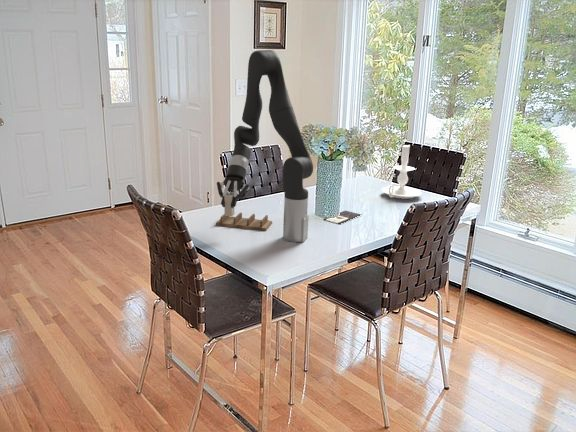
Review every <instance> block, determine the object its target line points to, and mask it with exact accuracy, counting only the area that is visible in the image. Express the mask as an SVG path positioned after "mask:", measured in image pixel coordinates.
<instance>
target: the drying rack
mask: <svg viewBox="0 0 576 432" xmlns="http://www.w3.org/2000/svg"><path fill="white" fill-rule="evenodd" d="M268 218H269V216H268V215H267V214H266V215H265V216H264V217H263V218H262V219H256V214H255V213H253V214H251V215H250V216H249V217H248V218H247V217H243V212H239V213H238V214H237V215H236V216H225V213H224V214H222V215H221V216H220V219H218V220H217V221H216V222H215V226H221V227H226V228H227V227H228V228H236V229H244V230H256V231H264V232H267V231H268V230H269V228H270V227H271V226H272V224H273V221H272V220H268Z"/></svg>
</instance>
